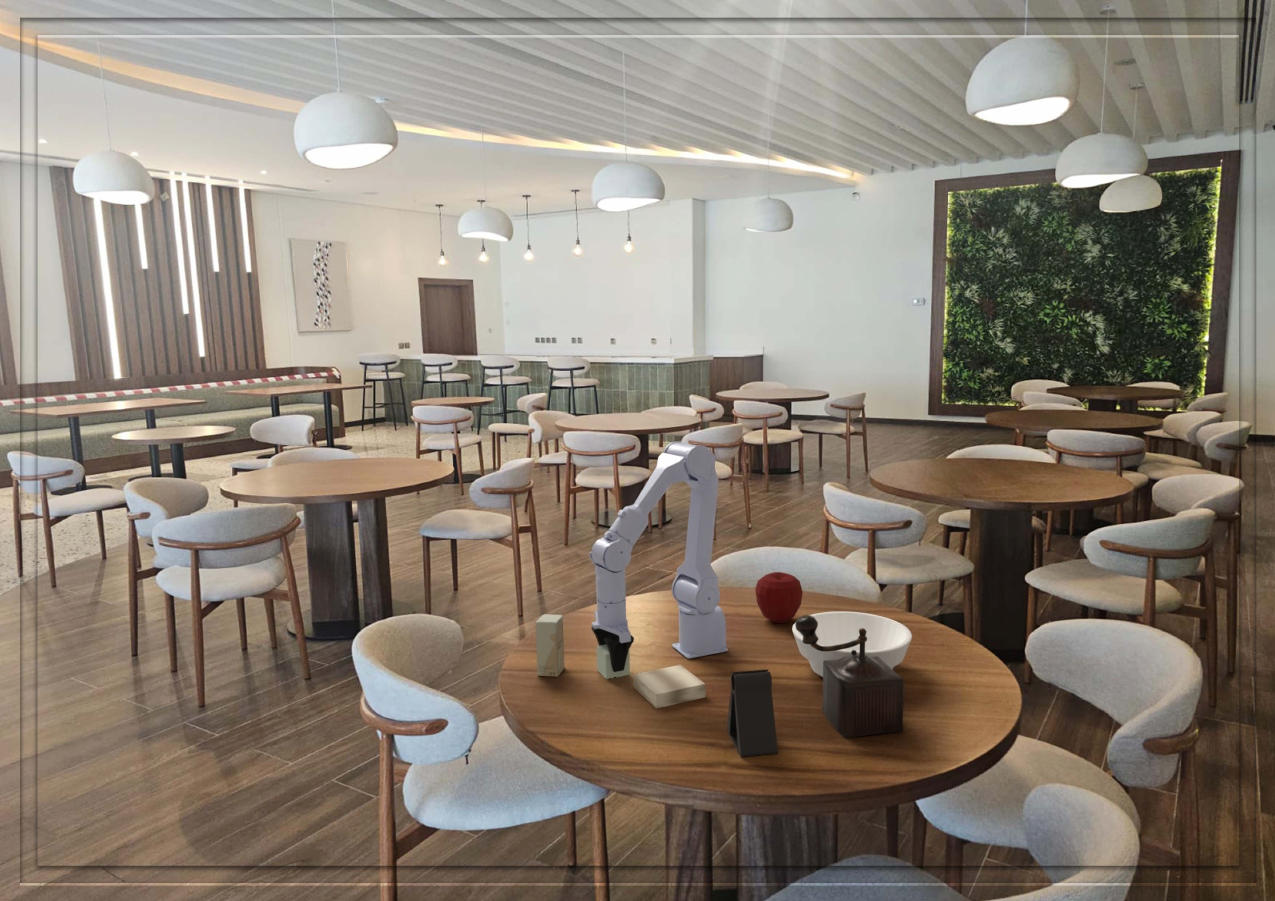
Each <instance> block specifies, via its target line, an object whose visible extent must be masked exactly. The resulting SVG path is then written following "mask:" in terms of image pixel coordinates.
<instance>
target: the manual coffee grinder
mask: <svg viewBox="0 0 1275 901" xmlns="http://www.w3.org/2000/svg"><path fill="white" fill-rule="evenodd" d="M810 615H811V614H805V615H804V614H803V615H802V616H799V617H798V618H797V619H796V620H795V622H796V624H795V623H794V624H795V626H796V630H797V631H799V632H800V633H801V634H802V636H803V641H802V642H803V643H804V644H810V645H811V646H812V647H813V648H815V649H816V650H819V651H826V652H828V651H837V650H841V649H846V648H850V647H854V646H856V645H858V644H860V652H859V655H857V652H856V651H855V650H852V651H851V654H852V656H846V657H843V658H841V659H836V660H824V661H823V677H822V707H821V711H822V712H823V715H824V716H825V717H826V719H827V721H828V722H829V723H830V724H831V726H833V729H835V730H836V731H837V733H839V734H840V735H841V736H842V737H843V738H845V739H856V738H857V739H858V738H869V737H878V736H879V737H880V736H885V735H887V736H888V735H893V734H899V733H900V734H901V733H903V732H904V679H903V678H902V677H901V676H900V675H899V674H898V673H897V672H896V671H895V670H892V669H891V668H890V667H889V666H888V665H887V664H886V663H885V662H884V661H882V660H881V659H880V658H879V657H878V656H874V657H868V656H866V655H865V642H866V641H867V637H866V636H865V635H866V632H867V631H866V630H865V629H864V628H861V629H860V630H859V634H860V636H859V637H858V639H856V640H854V641H851V642H848V643H844V644H840V645H834V646H820V645H818V644H817V641H818V637H817V635H816V633H815V632H816V629H817V627H818V622H817V621H816V619H815V618H814V617H813V616H810Z"/></svg>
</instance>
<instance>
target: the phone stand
mask: <svg viewBox="0 0 1275 901" xmlns="http://www.w3.org/2000/svg"><path fill="white" fill-rule="evenodd" d="M772 685H773V680H772V674H771V671H769V669H766V668H765V669H757V670H755V669H754V670H745V671H742V670H741V671H732V672H731V674H730V695H729V703H728V704H729V705H728V712H727V713H728V714H727V716H728V717H727V723H726V724H727V726H726V732H727V733H728V735H729V738H730V740H731V741H732V743H733V745H734V747H735V749H736V751H737V753H738V755H739V757H740V756H741V757H740V758H745V757H757V755H758V756H767V755H777V754H778V753H779V749H778V741H777V739H778V738H777V732H776V720H775V709H774V702H773V688H772Z"/></svg>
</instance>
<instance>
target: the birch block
mask: <svg viewBox="0 0 1275 901" xmlns="http://www.w3.org/2000/svg"><path fill="white" fill-rule="evenodd" d="M632 680H633V688H634V689H635V691H637V692H638V693H639V694H640V695H641V696H642V697H643V698H644V699H645V700H646V701H647V702H648V703H650V704H651V705H652V706H653V707H654V708H655V709H660V708H665V707H669V706H673V705H677V704H678V705H679V704H681V703H686V702H691V701H694V700H699V699H700V700H701V699H704V698H706V683H705V682H704V681H702V680H701V679H700V678H698V677H697V676H696V675H695V674H693V673H692V672H690V671H689V670H688V669H686V668H685V667H684V666H683V665H681V664H677V665H673V666H667V667H663V668H659V669H658V668H657V669H653V670H649V671H642V672H639V673H633V675H632Z"/></svg>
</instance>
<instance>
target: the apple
mask: <svg viewBox="0 0 1275 901" xmlns="http://www.w3.org/2000/svg"><path fill="white" fill-rule="evenodd" d="M756 582H757V583H756V585H755V588H754V589H755V590H754V592H755V597H756V603H757V606H758V609H759V610H760V612H761V615H762V616H763V617H764V618H766V619H767V620H769V621H771V623H775V624H785V623H787V622H789V621H790V620H791V619H793V618H794V617H795V616H796V615H797V613H798V610H799V609H800V607H801V605H802V600H803V595H804V594H803V593H804V592H803V588H802V584H801V581H800V580H799V579H798V578H797V577H796V576H794V575H792V574H790V573H787V572H781V571H773V572H769V573H767V574H765V575H764V576H762V577H760V579H757V581H756Z"/></svg>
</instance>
